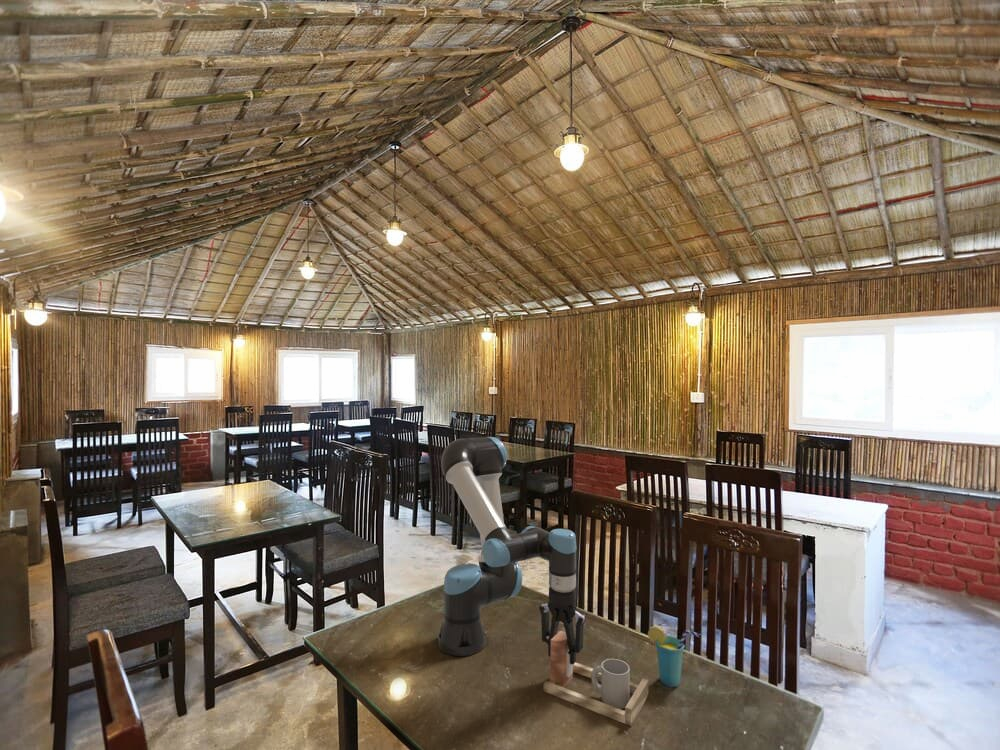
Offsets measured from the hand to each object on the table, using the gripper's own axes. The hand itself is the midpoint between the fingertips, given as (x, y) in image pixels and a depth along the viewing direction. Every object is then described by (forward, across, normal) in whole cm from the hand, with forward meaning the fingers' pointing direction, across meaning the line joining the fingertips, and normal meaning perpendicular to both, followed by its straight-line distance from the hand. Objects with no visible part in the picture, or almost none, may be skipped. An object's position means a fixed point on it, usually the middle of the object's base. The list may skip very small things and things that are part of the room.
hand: (561, 671), depth 136 cm
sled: (+3, +10, 0) cm, 10 cm away
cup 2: (+3, +26, +17) cm, 31 cm away
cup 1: (+3, +14, 0) cm, 14 cm away
